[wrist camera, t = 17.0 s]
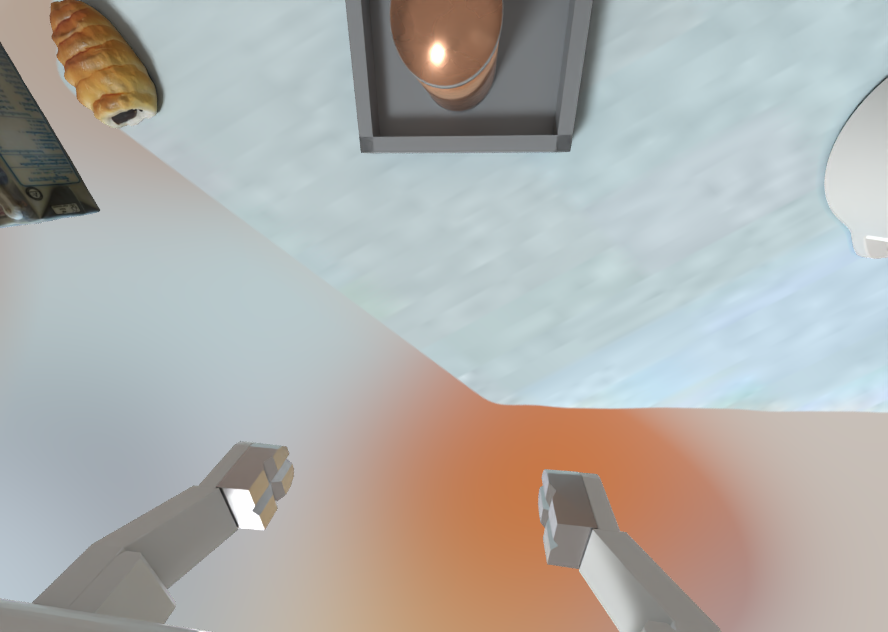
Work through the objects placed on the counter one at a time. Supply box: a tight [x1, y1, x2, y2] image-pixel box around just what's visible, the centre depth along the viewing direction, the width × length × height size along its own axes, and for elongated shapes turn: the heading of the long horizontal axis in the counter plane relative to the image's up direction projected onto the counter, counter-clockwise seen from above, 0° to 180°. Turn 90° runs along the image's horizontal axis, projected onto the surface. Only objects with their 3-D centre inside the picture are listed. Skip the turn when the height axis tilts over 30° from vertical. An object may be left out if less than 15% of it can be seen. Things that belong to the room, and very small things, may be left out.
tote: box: [345, 0, 593, 153], centre depth 26 cm, size 18×13×3 cm
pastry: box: [50, 0, 157, 128], centre depth 29 cm, size 9×7×4 cm
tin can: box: [389, 0, 503, 113], centre depth 22 cm, size 6×6×11 cm
